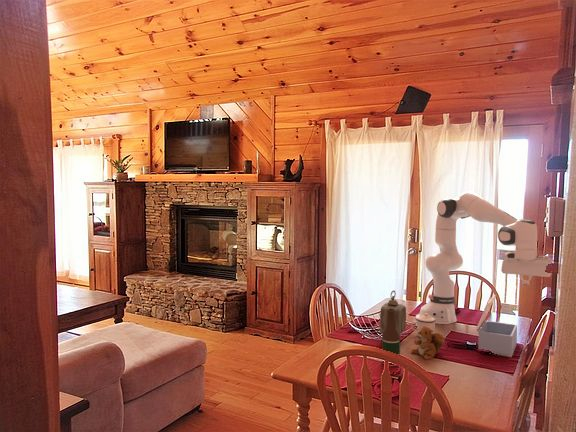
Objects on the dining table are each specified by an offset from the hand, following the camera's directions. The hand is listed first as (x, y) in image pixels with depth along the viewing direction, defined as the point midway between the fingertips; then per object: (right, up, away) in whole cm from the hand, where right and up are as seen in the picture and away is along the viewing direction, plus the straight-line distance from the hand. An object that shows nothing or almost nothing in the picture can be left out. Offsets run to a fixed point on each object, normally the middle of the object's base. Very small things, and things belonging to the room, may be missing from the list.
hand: (525, 284), depth 210 cm
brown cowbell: (-56, -31, +20) cm, 67 cm away
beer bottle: (-65, -33, -11) cm, 73 cm away
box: (-9, -31, +8) cm, 33 cm away
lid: (-13, -15, +9) cm, 22 cm away
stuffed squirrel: (-45, -32, 0) cm, 55 cm away
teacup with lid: (-39, -31, +26) cm, 56 cm away
